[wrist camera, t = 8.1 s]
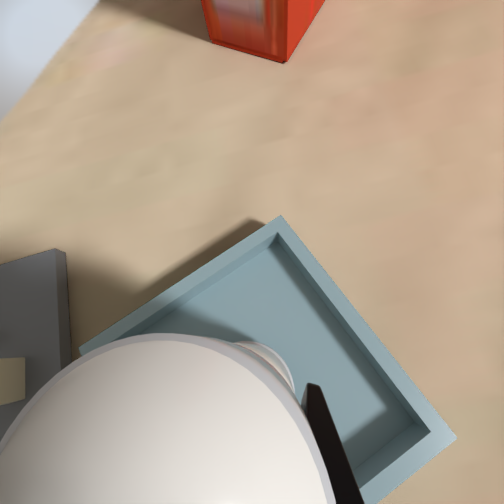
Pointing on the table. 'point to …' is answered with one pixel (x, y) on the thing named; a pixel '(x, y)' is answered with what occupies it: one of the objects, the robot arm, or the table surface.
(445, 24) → the table surface
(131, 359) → the white cylinder
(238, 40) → the file binder
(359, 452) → the tray
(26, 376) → the board
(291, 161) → the table surface
